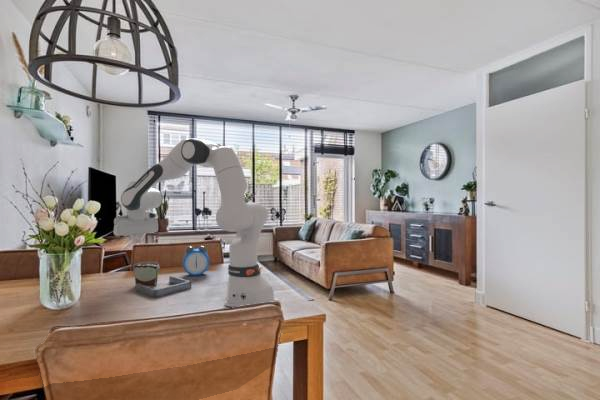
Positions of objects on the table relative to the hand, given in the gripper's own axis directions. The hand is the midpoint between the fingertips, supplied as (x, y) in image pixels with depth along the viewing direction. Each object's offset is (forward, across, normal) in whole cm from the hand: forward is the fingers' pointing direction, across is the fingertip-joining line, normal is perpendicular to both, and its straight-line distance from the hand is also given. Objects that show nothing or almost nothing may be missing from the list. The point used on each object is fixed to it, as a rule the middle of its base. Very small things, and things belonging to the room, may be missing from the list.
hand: (136, 243), depth 154 cm
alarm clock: (+18, +24, -14) cm, 33 cm away
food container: (+18, 0, -11) cm, 22 cm away
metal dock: (+18, 0, -24) cm, 30 cm away
